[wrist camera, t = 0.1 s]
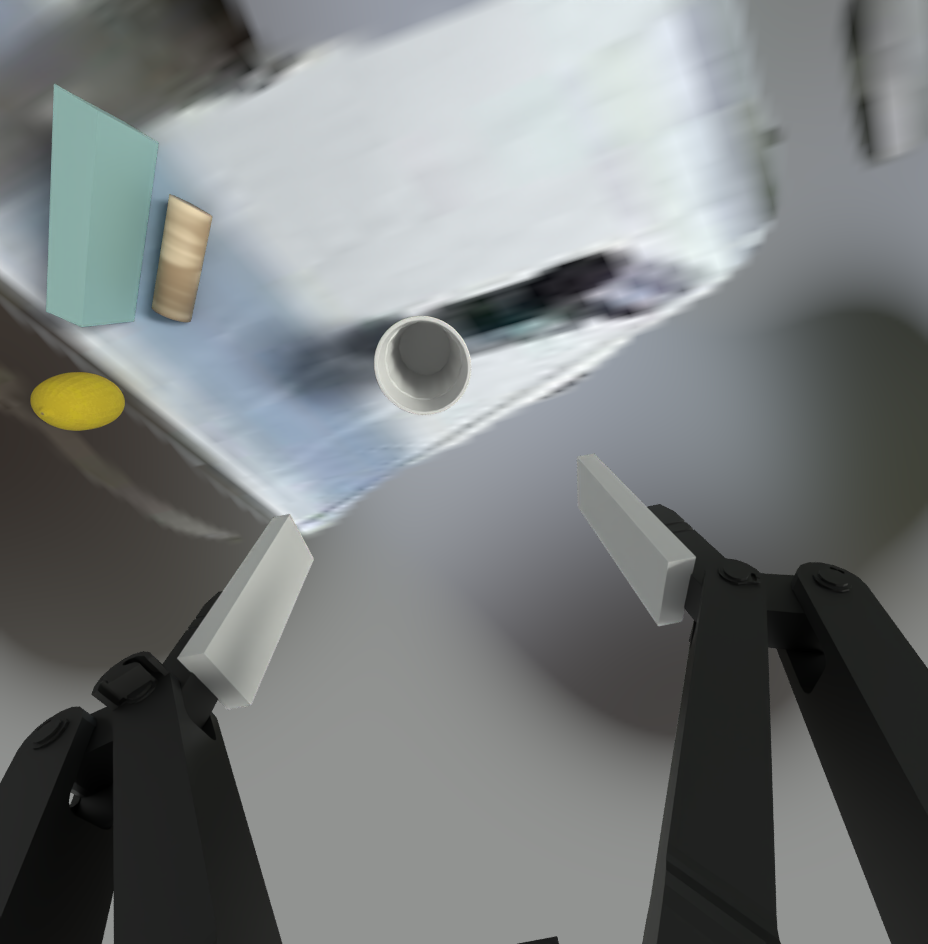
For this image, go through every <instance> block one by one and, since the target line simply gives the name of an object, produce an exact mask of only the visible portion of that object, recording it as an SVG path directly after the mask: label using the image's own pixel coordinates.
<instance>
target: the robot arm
mask: <svg viewBox="0 0 928 944" xmlns="http://www.w3.org/2000/svg"><path fill="white" fill-rule="evenodd" d="M577 481H578V508H579V509H580V511H581V512H582V514H583V515H584V517H585V518H586V520H587V521H588V523H589V524H590V526H591V527H592V529H593V530H594V531H595V533H596V535H597V536H598V537H599V539H600V540H601V542H602V543H603V545H604V546H605V548H606V549H607V551H608V552H609V554H610V555H611V557H612V558H613V560H614V561H615V563H616V564H617V566H618V567H619V569H620V570H621V572H622V573H623V575H624V576H625V578H626V579H627V580H628V582H629V583H630V585H631V586H632V588H633V589H634V591H635V592H636V594H637V595H638V597H639V598H640V600H641V601H642V603H643V604H644V606H645V607H646V609H647V610H648V612H649V613H650V615H651V616H652V617H653V619H654V621H655V622H656V623H657V625H658V626H662V625H667V624H672V623H677V622H682V621H683V616H684V611H685V609H686V611H687V612H688V613H689V614H690V616H691V617H692V618H693V619H694V622H693V626H692V630H691V634H690V639H689V642H690V646H689V652H688V659H687V665H686V672H685V679H684V685H683V691H682V698H681V704H680V711H679V717H678V724H677V731H676V737H675V743H674V750H673V756H672V763H671V770H670V776H669V783H668V789H667V795H666V802H665V808H664V815H663V821H662V828H661V835H660V841H659V848H658V854H657V861H656V868H655V874H654V880H653V887H652V894H651V899H650V905H649V910H648V914H647V919H646V925H645V930H644V936H643V942H642V944H781V943H780V940H779V935H778V930H777V917H776V885H775V857H774V856H775V855H774V854H775V853H774V822H773V794H772V793H773V791H772V758H771V729H770V728H771V727H770V695H769V665H768V664H769V663H768V647H770V648H776V649H777V651H778V654H779V657H780V659H781V662H782V664H783V667H784V670H785V672H786V675H787V677H788V680H789V682H790V685H791V688H792V690H793V693H794V695H795V698H796V700H797V703H798V705H799V708H800V711H801V713H802V716H803V718H804V721H805V723H806V726H807V728H808V731H809V734H810V736H811V739H812V741H813V744H814V747H815V749H816V752H817V754H818V757H819V759H820V762H821V765H822V767H823V770H824V772H825V775H826V777H827V780H828V782H829V785H830V788H831V790H832V792H833V795H834V798H835V800H836V803H837V805H838V808H839V811H840V813H841V816H842V818H843V821H844V823H845V826H846V829H847V831H848V834H849V836H850V839H851V842H852V844H853V846H854V849H855V852H856V854H857V857H858V859H859V862H860V865H861V867H862V870H863V872H864V875H865V877H866V880H867V883H868V885H869V888H870V890H871V893H872V895H873V898H874V900H875V903H876V906H877V908H878V911H879V913H880V916H881V919H882V921H883V924H884V926H885V929H886V931H887V934H888V937H889V939H890V941H891V944H928V668H927V667H926V665H925V664H924V663H923V661H922V660H921V659H920V657H919V656H918V655H917V653H916V652H915V650H914V649H913V648H912V646H911V645H910V644H909V642H908V641H907V640H906V638H905V637H904V635H903V634H902V633H901V631H900V630H899V628H897V626H896V625H895V623H894V622H893V620H892V619H891V618H890V616H889V615H888V613H887V612H886V611H885V609H884V608H883V607H882V605H881V604H880V603H879V601H878V600H877V599H876V597H875V596H874V594H873V593H872V592H871V590H870V589H869V588H868V586H867V585H866V584H865V583H864V582H863V581H862V580H861V579H860V578H859V577H857V576H856V575H854V574H852V573H850V572H849V571H847V570H845V569H842V568H839V567H837V566H834V565H830V564H825V563H818V562H817V563H815V562H814V563H811V562H809V563H805V564H802V565H800V567H799V568H798V569H797V571H796V573H795V575H777V574H764V573H760V572H759V571H757V569H755V568H753V567H752V566H750V565H748V564H746V563H744V562H741V561H738V560H734V559H727V558H724V556H722V555H721V554H720V553H719V552H718V551H717V550H716V549H715V548H714V547H713V546H711V545H710V544H709V543H708V542H707V541H706V540H705V539H704V538H703V537H702V536H701V535H700V534H698V533H697V532H696V531H695V530H693V529H692V527H691V526H690V525H688V524H687V523H686V522H684V520H683V519H682V518H681V517H680V516H679V515H678V514H677V513H676V512H674V511H673V510H670V509H669V508H667V507H664V506H662V505H660V504H658V505H653V506H648V507H646V506H645V505H644V504H643V503H642V502H641V501H640V500H639V499H638V498H637V497H636V496H635V495H634V494H633V493H632V492H631V491H630V490H629V489H628V488H627V487H626V486H625V485H624V484H623V482H622V481H621V480H620V479H618V477H617V476H616V475H614V473H613V472H612V471H611V470H610V469H609V468H608V467H607V466H606V465H605V464H604V463H603V462H602V461H601V460H600V459H599V458H598V457H597V456H596V455H595V454H590V455H585V456H579V457H577ZM313 560H314V558H313V557H312V555H311V553H310V551H309V549H308V547H307V545H306V543H305V541H304V539H303V538H302V536H301V534H300V532H299V530H298V528H297V526H296V524H295V522H294V521H293V519H292V517H291V515H290V514H287V515H282V516H277V517H273V519H272V520H271V521H270V523H269V524H268V526H267V527H266V529H265V530H264V532H263V533H262V535H261V536H260V538H259V539H258V541H257V542H256V543H255V545H254V546H253V548H252V549H251V551H250V552H249V554H248V555H247V557H246V558H245V560H244V561H243V563H242V564H241V566H240V567H239V568H238V570H237V572H236V573H235V574H234V576H233V577H232V579H231V580H230V582H229V583H228V585H227V586H226V588H225V589H224V591H221V592H218V593H217V594H216V595H215V596H213V597H212V598H211V599H210V600H209V601H208V602H207V603H206V604H205V605H204V606H203V608H202V609H201V611H200V612H199V614H198V615H197V616H196V619H195V620H193V622H192V623H191V625H190V626H189V627H188V628H189V629H188V630H187V631H186V632H185V633H184V635H183V636H182V637H181V639H180V640H179V642H178V643H177V644H176V646H175V647H174V649H173V650H172V651H171V653H170V654H169V656H168V657H167V659H166V660H165V662H164V663H163V664H161V663H160V662H159V661H158V660H157V659H156V658H155V657H154V656H153V655H152V654H151V653H150V652H144V651H143V652H140V653H136V654H133V655H131V656H129V657H127V658H125V659H123V660H122V661H120V662H119V663H117V664H116V665H114V666H113V667H112V668H110V669H109V671H107V672H106V673H105V674H104V675H103V676H102V677H101V678H100V680H99V681H98V682H97V684H96V685H95V686H94V689H93V691H92V695H93V696H94V697H95V698H97V699H98V700H99V701H101V702H102V703H103V704H105V705H106V706H107V707H105V708H103V709H101V710H98V711H96V712H94V713H92V714H89V713H88V712H86V711H85V710H84V709H82V708H81V707H71V708H68V709H66V710H63V711H61V712H59V713H57V714H56V715H54V716H53V717H51V718H49V719H48V720H46V721H45V722H43V724H41V725H40V726H39V727H37V728H36V729H35V730H34V731H33V732H32V733H31V735H29V736H28V737H27V739H26V740H25V741H24V742H23V743H22V745H21V747H20V748H19V749H18V751H17V752H16V755H15V756H14V758H13V761H12V762H11V764H10V766H9V768H8V770H7V771H6V773H5V775H4V777H3V779H2V781H1V783H0V944H102V940H103V935H104V931H105V927H106V922H107V918H108V913H109V909H110V904H111V900H112V896H113V891H114V944H282V941H281V938H280V934H279V931H278V927H277V924H276V920H275V917H274V913H273V910H272V906H271V903H270V900H269V896H268V892H267V890H266V886H265V882H264V879H263V875H262V872H261V868H260V865H259V861H258V858H257V855H256V851H255V848H254V844H253V841H252V837H251V834H250V831H249V827H248V823H247V820H246V817H245V813H244V810H243V806H242V803H241V799H240V796H239V793H238V789H237V786H236V782H235V779H234V775H233V772H232V768H231V765H230V761H229V758H228V755H227V751H226V748H225V745H224V741H223V737H222V734H221V731H220V727H219V723H218V720H217V718H216V716H215V715H214V714H213V713H212V710H213V708H214V706H215V704H216V702H217V700H218V701H220V703H222V705H223V706H224V707H225V708H226V709H227V710H229V709H234V708H239V707H244V706H250V705H251V704H252V702H253V700H254V697H255V695H256V693H257V690H258V688H259V685H260V683H261V681H262V679H263V676H264V674H265V672H266V669H267V667H268V665H269V662H270V660H271V658H272V655H273V653H274V650H275V648H276V646H277V644H278V641H279V639H280V637H281V634H282V632H283V630H284V627H285V625H286V623H287V620H288V618H289V616H290V613H291V611H292V608H293V606H294V604H295V602H296V599H297V597H298V595H299V592H300V590H301V587H302V585H303V583H304V581H305V578H306V576H307V574H308V571H309V569H310V567H311V564H312V562H313ZM70 793H73V794H74V796H73V799H72V802H71V804H70V805H69V797H70ZM519 944H559V943H558V938H557V936H556V937H551V938H545V939H540V940H535V941H530V942H524V943H519Z"/></svg>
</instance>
